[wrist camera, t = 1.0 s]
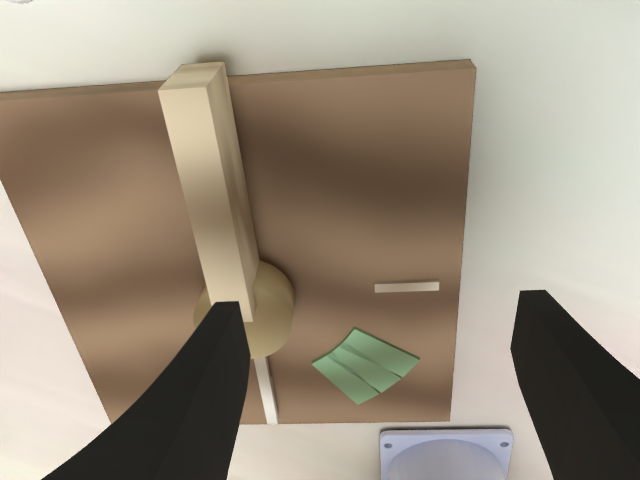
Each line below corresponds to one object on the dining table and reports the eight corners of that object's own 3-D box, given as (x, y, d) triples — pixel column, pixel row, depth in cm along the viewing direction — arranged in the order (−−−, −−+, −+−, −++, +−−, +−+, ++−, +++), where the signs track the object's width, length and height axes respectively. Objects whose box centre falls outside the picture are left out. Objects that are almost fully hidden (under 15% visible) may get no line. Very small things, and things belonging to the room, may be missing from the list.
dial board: (446, 404, 32) (450, 424, 31) (119, 410, 33) (110, 429, 32) (470, 59, 21) (477, 69, 20) (-18, 93, 23) (-38, 105, 21)
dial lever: (311, 417, 31) (308, 465, 28) (235, 419, 31) (225, 466, 28) (262, 58, 20) (248, 84, 17) (145, 67, 20) (115, 93, 18)
